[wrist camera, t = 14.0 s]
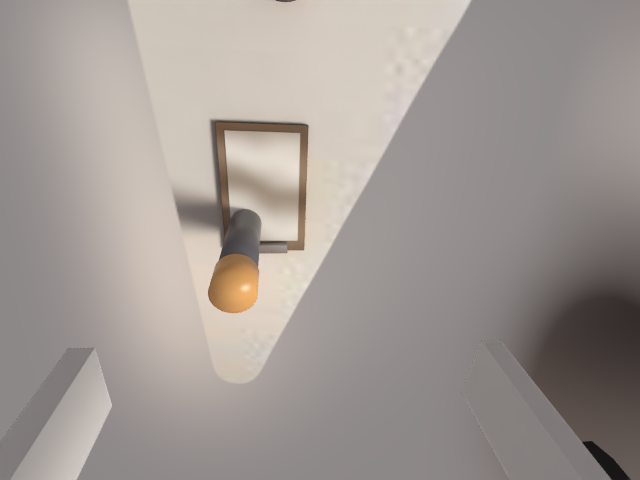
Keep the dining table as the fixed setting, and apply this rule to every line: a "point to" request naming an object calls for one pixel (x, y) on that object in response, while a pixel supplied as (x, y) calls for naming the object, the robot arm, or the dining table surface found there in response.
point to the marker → (238, 265)
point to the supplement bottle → (285, 0)
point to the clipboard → (265, 179)
